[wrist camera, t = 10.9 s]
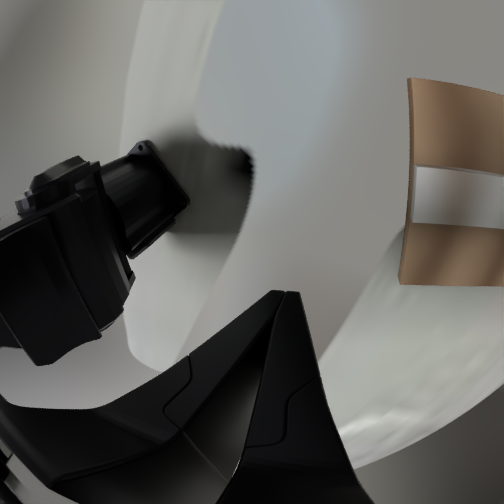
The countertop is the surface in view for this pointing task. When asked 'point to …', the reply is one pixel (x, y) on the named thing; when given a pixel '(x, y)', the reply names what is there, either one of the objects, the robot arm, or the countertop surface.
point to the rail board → (454, 187)
